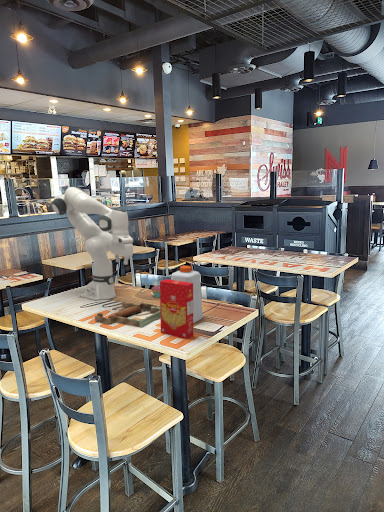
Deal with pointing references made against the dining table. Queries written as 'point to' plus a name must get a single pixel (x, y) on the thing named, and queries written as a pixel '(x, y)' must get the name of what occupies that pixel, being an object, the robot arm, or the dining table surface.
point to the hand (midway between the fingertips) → (121, 263)
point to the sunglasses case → (126, 312)
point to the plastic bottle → (192, 277)
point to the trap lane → (129, 320)
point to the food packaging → (176, 308)
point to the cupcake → (156, 290)
